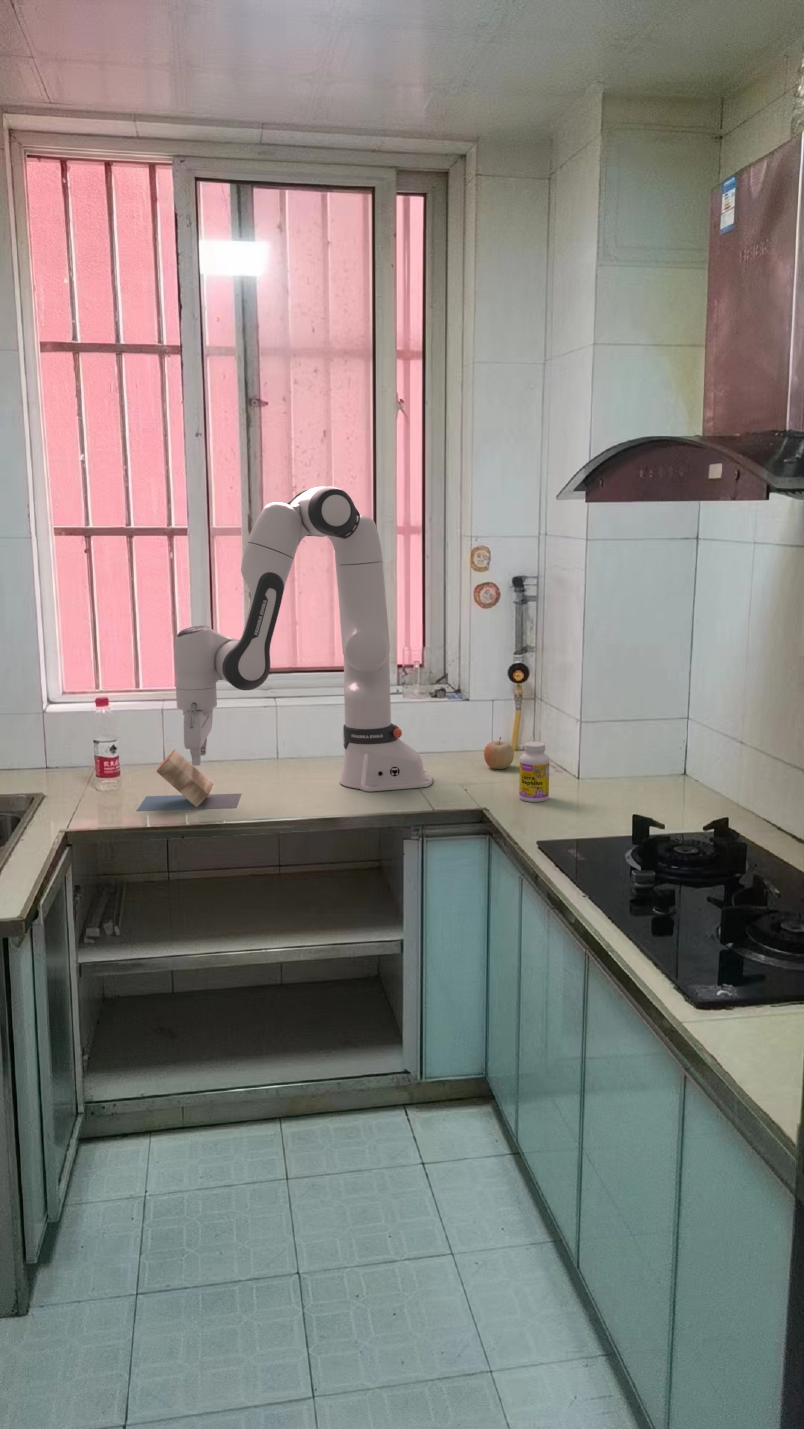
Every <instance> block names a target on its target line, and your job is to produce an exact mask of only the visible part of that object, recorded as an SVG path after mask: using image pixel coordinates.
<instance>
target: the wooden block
mask: <svg viewBox="0 0 804 1429" xmlns="http://www.w3.org/2000/svg"><path fill="white" fill-rule="evenodd" d="M155 772H156V773H157V774H158V775H159V776H161V777H162V778H163V780H165V781H166V782H168V783H169V784H170V785H171V786H172V787H173V788H174V789H175V790H176V791H178V793H180V794H181V795H183V796H184V797H186V798H187V799H188V800H189V801H190V802H191V803H192V804H193V805H195V806H196V807H197V806H198V805H199V804H200V803H201V802H202V801H203V800H204V799H205V798H206V797H207V796H208V795H209V794H210V792H211V791H212V789H213V786H214V783H213V782H211V780H210V779H208V777H206V776H205V775H204V774H203V773H202V772H201V771H199V769H197V768H196V766H194V765H193V764H192V763H191V762H189V761H188V760H187V759H186V757H184V756H183V755H181V754H180V752H178V751H177V749H173V750H172V751H171V752H170V754H169V755H167V757H166V758H165V759H164V760H163V761H162V762H161V764H160V765H159V766H158V768H157V769H156V771H155Z"/></svg>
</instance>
